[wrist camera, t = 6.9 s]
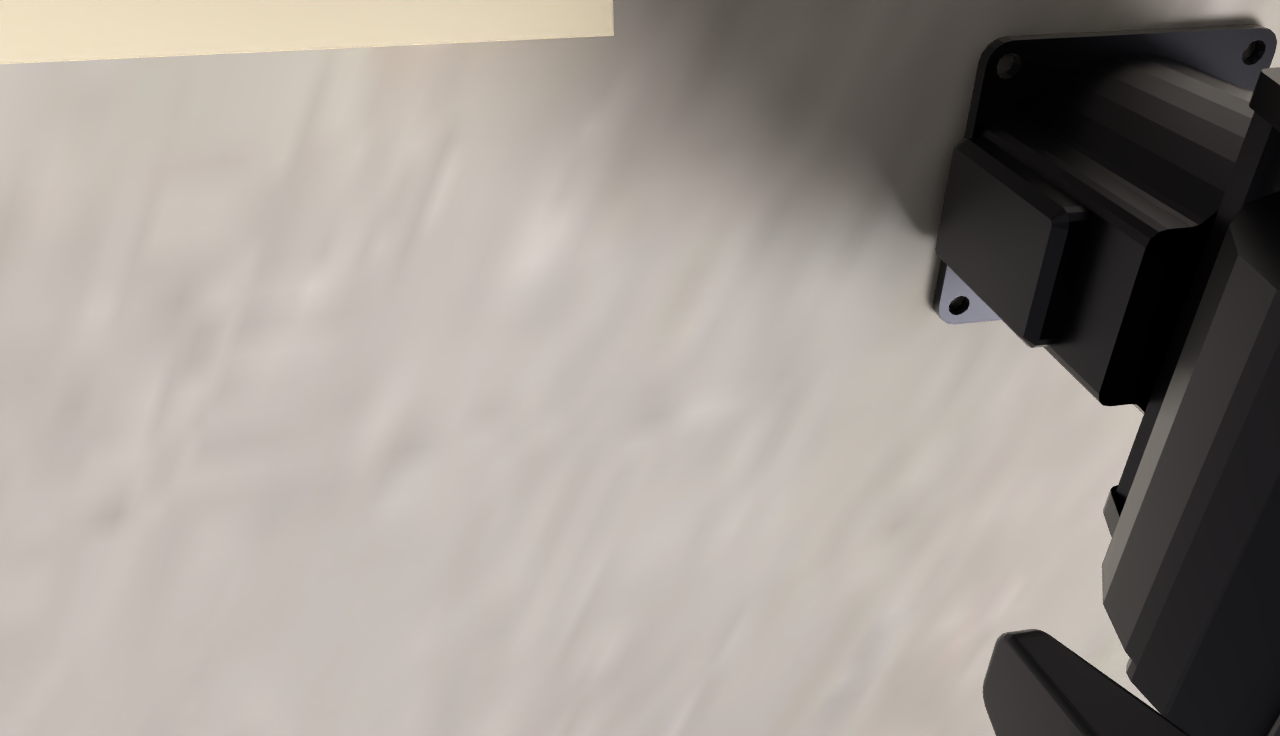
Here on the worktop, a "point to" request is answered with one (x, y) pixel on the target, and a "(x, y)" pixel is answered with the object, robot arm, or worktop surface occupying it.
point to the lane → (277, 25)
